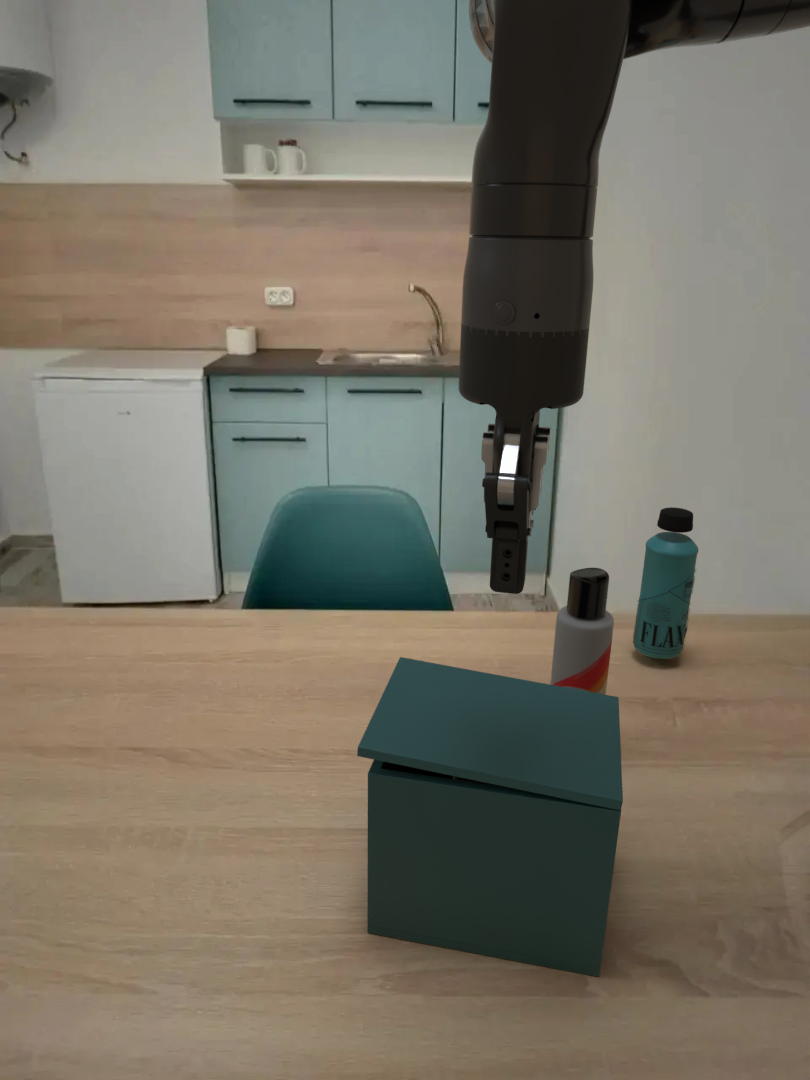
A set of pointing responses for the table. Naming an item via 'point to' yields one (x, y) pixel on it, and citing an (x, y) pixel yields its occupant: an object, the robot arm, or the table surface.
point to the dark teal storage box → (488, 868)
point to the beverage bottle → (666, 587)
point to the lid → (499, 732)
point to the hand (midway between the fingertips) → (507, 588)
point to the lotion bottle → (583, 634)
